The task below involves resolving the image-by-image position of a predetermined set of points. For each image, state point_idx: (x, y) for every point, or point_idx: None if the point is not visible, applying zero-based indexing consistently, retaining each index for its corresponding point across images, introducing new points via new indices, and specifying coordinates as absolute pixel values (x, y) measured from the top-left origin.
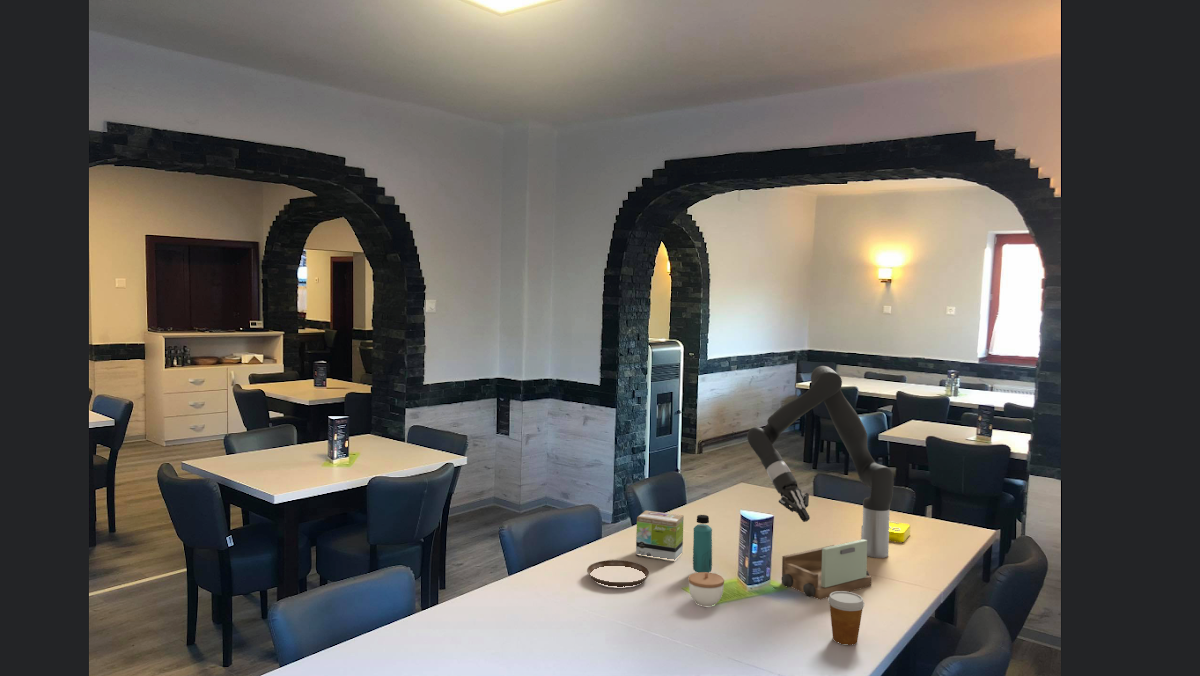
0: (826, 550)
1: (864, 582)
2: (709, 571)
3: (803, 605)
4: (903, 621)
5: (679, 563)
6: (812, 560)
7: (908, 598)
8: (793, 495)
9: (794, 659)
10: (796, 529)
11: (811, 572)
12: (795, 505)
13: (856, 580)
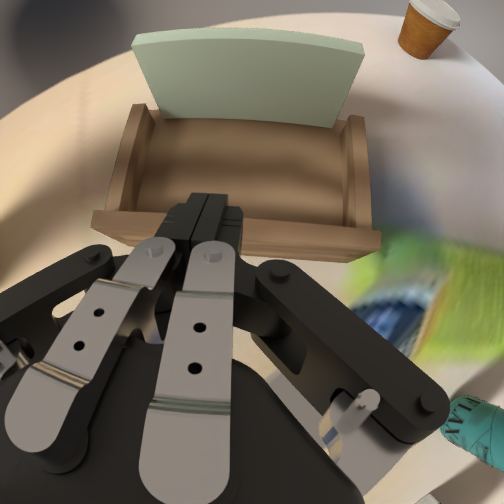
0: (358, 45)
1: None
2: (459, 397)
3: (396, 140)
4: (277, 20)
5: (428, 485)
6: None
7: None
8: (202, 401)
9: (487, 77)
10: None
11: (355, 134)
12: (271, 284)
13: None
